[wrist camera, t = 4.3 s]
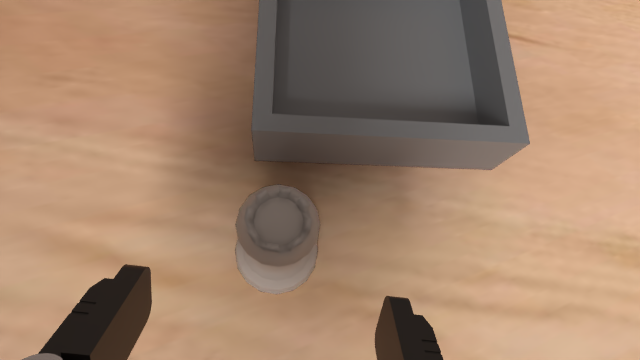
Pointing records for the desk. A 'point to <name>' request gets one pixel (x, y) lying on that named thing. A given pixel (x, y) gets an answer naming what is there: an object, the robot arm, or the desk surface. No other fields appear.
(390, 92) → the tray
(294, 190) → the rook chess piece
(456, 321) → the desk surface
